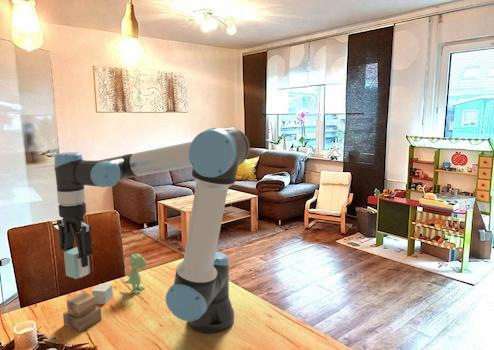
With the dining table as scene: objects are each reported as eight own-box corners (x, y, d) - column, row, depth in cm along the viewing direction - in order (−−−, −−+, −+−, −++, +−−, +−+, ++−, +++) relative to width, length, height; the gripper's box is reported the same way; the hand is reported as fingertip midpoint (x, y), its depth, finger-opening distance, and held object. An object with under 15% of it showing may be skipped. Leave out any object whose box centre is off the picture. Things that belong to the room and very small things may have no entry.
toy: (148, 292, 135) (146, 255, 133) (126, 297, 132) (125, 258, 129) (143, 284, 142) (142, 249, 139) (123, 289, 138) (121, 252, 135)
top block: (96, 309, 116) (95, 296, 115) (79, 318, 111) (78, 304, 110) (84, 304, 119) (83, 291, 118) (67, 312, 114) (66, 299, 113)
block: (112, 297, 132) (112, 284, 131) (105, 304, 127) (104, 291, 126) (100, 296, 133) (99, 283, 132) (92, 303, 128) (91, 290, 127)
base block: (101, 320, 117) (100, 308, 117) (80, 333, 110) (79, 320, 110) (85, 314, 121) (84, 301, 120) (64, 326, 114) (62, 313, 114)
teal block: (90, 272, 114) (88, 249, 112) (76, 279, 109) (74, 254, 108) (80, 269, 116) (78, 246, 115) (65, 275, 112) (63, 251, 110)
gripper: (102, 203, 108) (107, 275, 112) (64, 196, 116) (70, 263, 120) (80, 209, 101) (86, 285, 105) (42, 201, 110) (49, 272, 114)
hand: (77, 273), depth 113 cm, fingers closed on teal block, 5 cm apart
